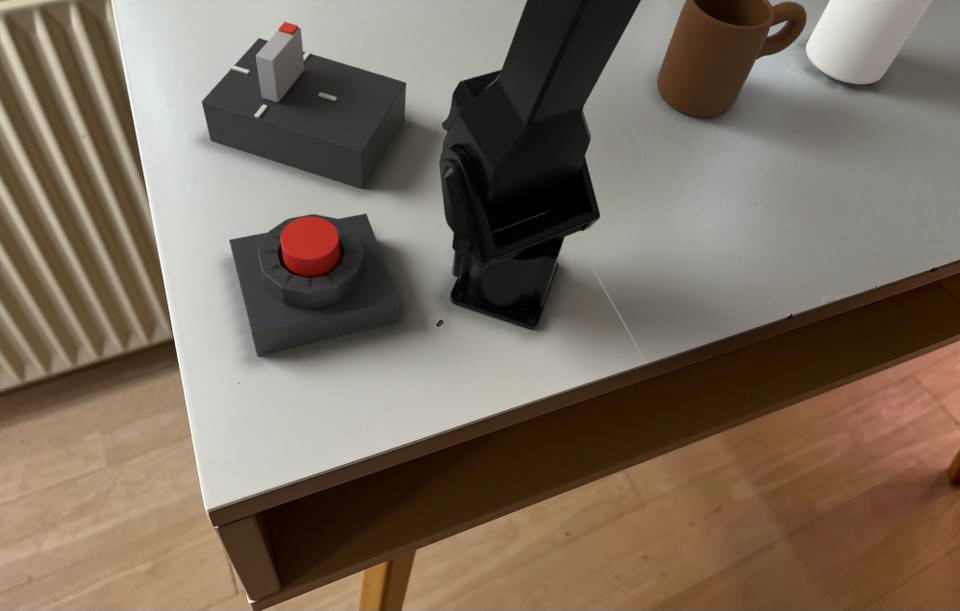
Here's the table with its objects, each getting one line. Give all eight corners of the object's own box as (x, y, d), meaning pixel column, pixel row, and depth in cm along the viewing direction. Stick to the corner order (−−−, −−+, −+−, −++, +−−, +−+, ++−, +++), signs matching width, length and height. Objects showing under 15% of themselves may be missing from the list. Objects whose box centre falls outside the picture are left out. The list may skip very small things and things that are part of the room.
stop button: (332, 229, 50) (330, 211, 48) (346, 270, 48) (345, 252, 46) (277, 240, 48) (274, 222, 47) (289, 282, 47) (287, 264, 45)
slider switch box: (404, 121, 63) (406, 80, 60) (362, 190, 58) (361, 149, 54) (264, 77, 64) (258, 35, 61) (210, 141, 59) (200, 99, 56)
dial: (278, 103, 57) (272, 57, 53) (261, 98, 57) (254, 52, 53) (305, 69, 59) (301, 24, 56) (288, 64, 59) (283, 19, 56)
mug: (752, 64, 74) (795, -25, 66) (788, 114, 70) (838, 25, 62) (642, 71, 71) (674, -21, 64) (672, 123, 67) (710, 31, 59)
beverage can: (886, 96, 73) (964, -17, 64) (806, 79, 73) (871, -37, 64) (875, 49, 78) (945, -63, 69) (799, 33, 78) (859, -81, 69)
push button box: (366, 238, 55) (366, 195, 51) (398, 323, 51) (400, 283, 47) (234, 264, 52) (224, 221, 48) (257, 357, 48) (247, 317, 44)
